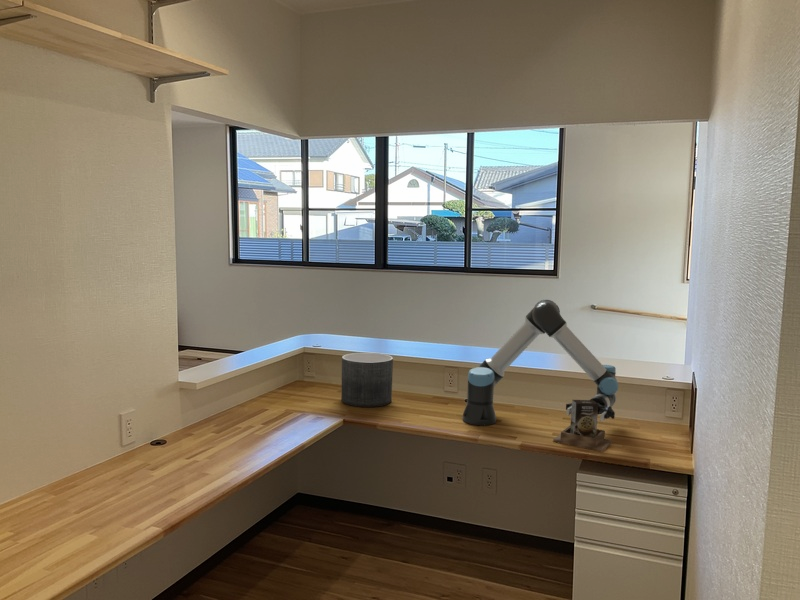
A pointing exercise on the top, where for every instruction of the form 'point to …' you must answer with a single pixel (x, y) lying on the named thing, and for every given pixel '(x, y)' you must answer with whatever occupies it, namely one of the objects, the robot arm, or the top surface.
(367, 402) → the planter
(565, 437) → the stand
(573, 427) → the coffee box
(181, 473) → the top surface
